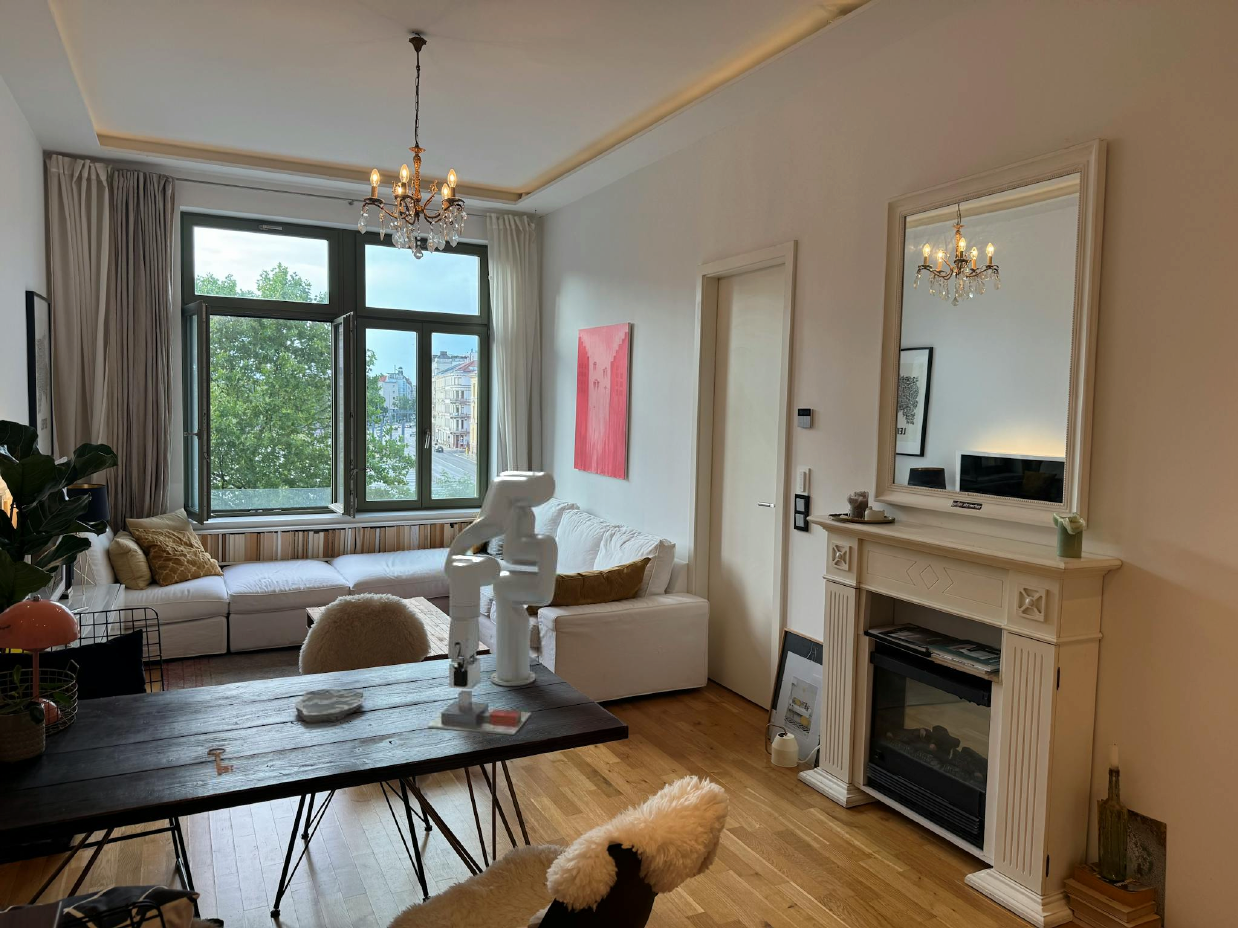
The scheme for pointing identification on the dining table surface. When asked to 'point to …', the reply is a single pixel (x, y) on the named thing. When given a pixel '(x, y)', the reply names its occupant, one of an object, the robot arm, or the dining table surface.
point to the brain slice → (328, 704)
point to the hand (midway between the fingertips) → (465, 681)
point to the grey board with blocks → (478, 717)
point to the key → (217, 757)
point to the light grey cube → (468, 673)
